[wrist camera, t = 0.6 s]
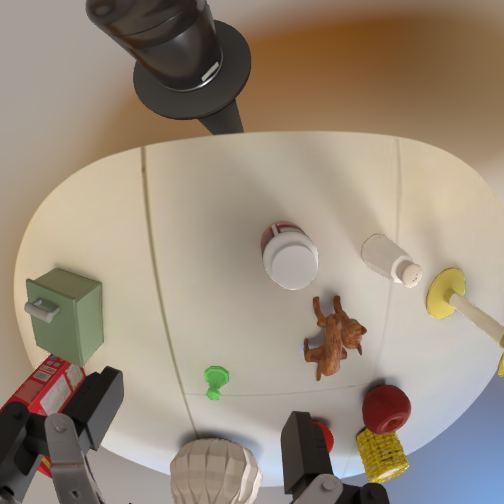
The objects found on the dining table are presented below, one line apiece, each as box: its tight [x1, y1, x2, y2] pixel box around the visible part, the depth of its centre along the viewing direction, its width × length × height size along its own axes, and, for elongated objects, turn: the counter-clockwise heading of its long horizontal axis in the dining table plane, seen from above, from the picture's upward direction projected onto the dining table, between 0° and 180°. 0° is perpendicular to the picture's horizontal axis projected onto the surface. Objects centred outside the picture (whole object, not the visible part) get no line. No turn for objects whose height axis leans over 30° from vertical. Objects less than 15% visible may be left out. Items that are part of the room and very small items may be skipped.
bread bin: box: [34, 268, 104, 365], centre depth 37 cm, size 12×11×8 cm
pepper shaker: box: [361, 235, 422, 287], centre depth 32 cm, size 5×5×11 cm
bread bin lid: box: [24, 279, 84, 368], centre depth 31 cm, size 13×11×4 cm
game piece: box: [205, 366, 229, 400], centre depth 41 cm, size 4×4×6 cm
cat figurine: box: [304, 296, 367, 381], centre depth 34 cm, size 18×7×14 cm, turn 1°
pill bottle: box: [261, 222, 318, 290], centre depth 32 cm, size 6×6×11 cm
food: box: [356, 428, 409, 483], centre depth 42 cm, size 15×12×10 cm
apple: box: [362, 385, 411, 435], centre depth 40 cm, size 10×10×10 cm
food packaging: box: [0, 354, 86, 478], centre depth 33 cm, size 15×5×25 cm, turn 179°
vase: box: [170, 438, 263, 504], centre depth 36 cm, size 20×20×30 cm
